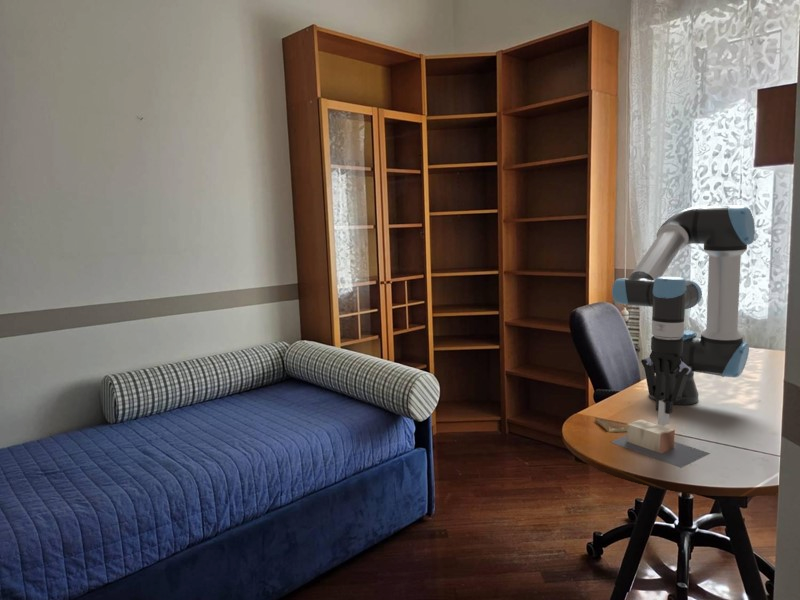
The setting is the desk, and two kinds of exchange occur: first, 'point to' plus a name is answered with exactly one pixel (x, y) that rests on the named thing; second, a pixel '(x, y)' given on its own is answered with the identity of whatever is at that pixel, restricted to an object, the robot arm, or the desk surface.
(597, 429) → the desk surface
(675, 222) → the robot arm
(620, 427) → the shard
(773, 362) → the desk surface
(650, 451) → the rubber mat
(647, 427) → the birch block
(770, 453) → the desk surface
